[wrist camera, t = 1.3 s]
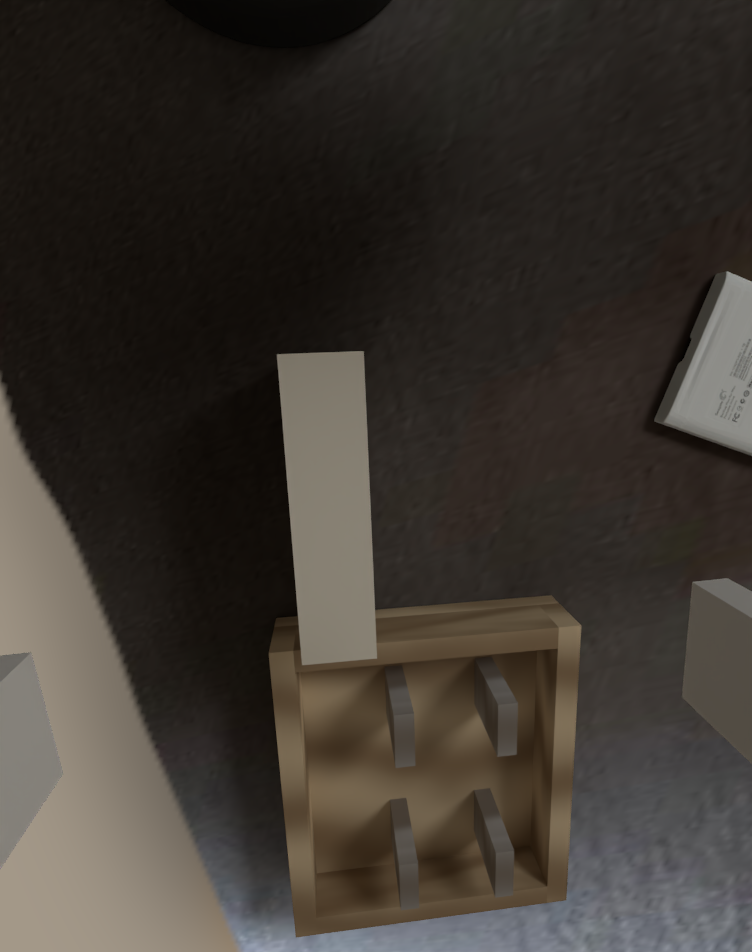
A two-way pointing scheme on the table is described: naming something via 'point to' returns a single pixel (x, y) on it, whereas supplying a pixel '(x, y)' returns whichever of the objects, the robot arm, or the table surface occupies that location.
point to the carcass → (429, 764)
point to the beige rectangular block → (329, 503)
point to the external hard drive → (716, 370)
